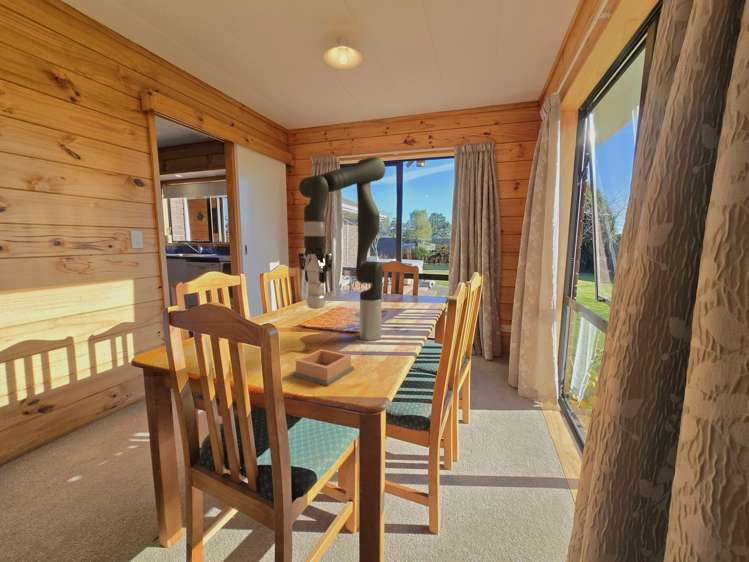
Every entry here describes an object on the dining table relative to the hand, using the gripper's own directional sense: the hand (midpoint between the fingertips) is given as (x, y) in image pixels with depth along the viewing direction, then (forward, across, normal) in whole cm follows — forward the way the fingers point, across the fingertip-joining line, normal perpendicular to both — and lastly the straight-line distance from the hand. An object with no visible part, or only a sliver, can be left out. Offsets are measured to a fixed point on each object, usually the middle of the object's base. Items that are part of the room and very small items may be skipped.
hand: (315, 282), depth 119 cm
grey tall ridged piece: (+10, 0, 0) cm, 10 cm away
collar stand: (+27, -12, +11) cm, 32 cm away
